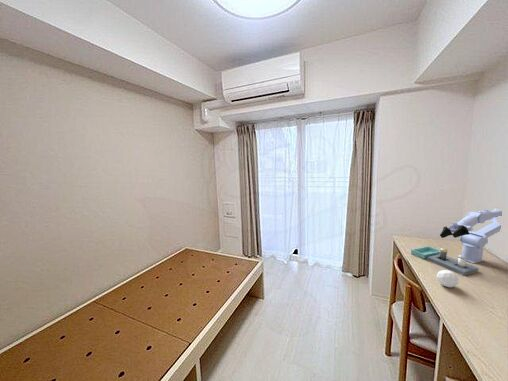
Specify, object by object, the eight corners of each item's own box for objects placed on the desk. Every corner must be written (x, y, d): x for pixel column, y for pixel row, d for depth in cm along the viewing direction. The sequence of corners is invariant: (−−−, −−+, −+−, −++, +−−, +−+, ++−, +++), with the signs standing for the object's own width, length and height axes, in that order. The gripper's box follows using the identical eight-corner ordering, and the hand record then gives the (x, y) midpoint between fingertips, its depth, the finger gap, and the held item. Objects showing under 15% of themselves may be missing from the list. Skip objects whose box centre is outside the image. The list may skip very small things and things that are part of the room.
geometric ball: (445, 292, 103) (439, 282, 100) (436, 278, 109) (431, 268, 107) (464, 288, 99) (459, 278, 97) (454, 274, 106) (449, 264, 104)
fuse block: (440, 256, 132) (441, 253, 132) (478, 271, 115) (478, 268, 115) (426, 259, 129) (427, 256, 128) (463, 275, 112) (463, 272, 111)
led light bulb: (441, 260, 128) (442, 247, 127) (446, 262, 125) (448, 249, 124) (437, 261, 127) (439, 248, 126) (443, 263, 124) (445, 250, 123)
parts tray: (427, 250, 141) (428, 246, 141) (441, 255, 134) (441, 251, 133) (411, 253, 137) (411, 249, 136) (424, 259, 129) (424, 254, 129)
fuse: (459, 267, 120) (461, 254, 118) (465, 270, 117) (467, 256, 115) (455, 268, 119) (457, 255, 117) (462, 271, 116) (464, 257, 115)
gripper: (448, 219, 130) (431, 230, 128) (473, 217, 116) (454, 229, 114) (455, 230, 129) (439, 241, 127) (481, 228, 115) (463, 241, 113)
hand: (447, 236), depth 121 cm, fingers open, 7 cm apart
